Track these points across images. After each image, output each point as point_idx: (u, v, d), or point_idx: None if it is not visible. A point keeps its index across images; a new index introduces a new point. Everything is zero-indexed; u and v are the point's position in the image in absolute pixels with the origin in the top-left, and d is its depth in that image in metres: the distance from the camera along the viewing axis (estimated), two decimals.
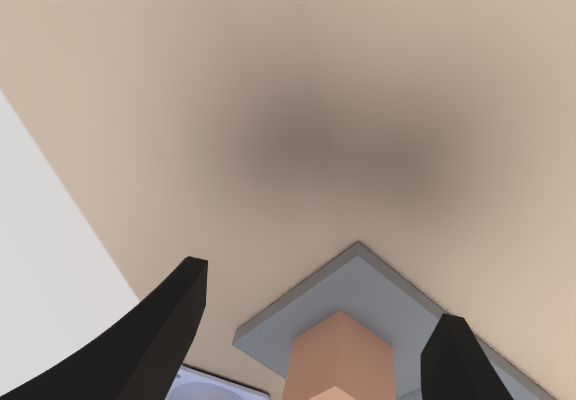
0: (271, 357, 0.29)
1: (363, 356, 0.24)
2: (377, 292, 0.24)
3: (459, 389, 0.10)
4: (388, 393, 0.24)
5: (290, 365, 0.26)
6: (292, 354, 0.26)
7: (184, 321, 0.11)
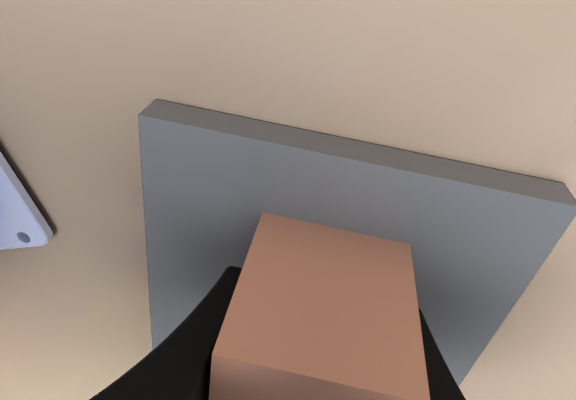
0: (177, 201, 0.13)
1: None
2: (494, 271, 0.13)
3: None
4: None
5: (255, 258, 0.11)
6: (262, 239, 0.12)
7: None
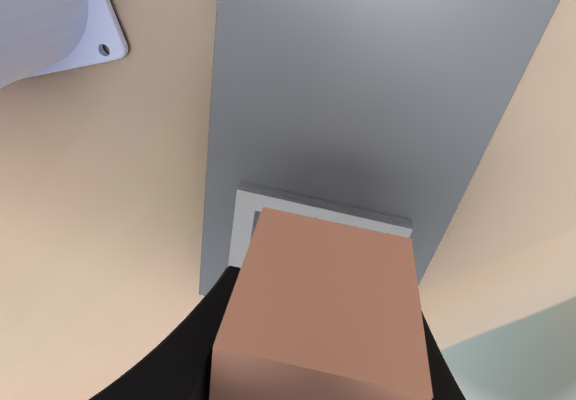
0: None
1: None
2: (504, 45, 0.16)
3: None
4: None
5: (256, 252, 0.11)
6: (262, 234, 0.12)
7: None
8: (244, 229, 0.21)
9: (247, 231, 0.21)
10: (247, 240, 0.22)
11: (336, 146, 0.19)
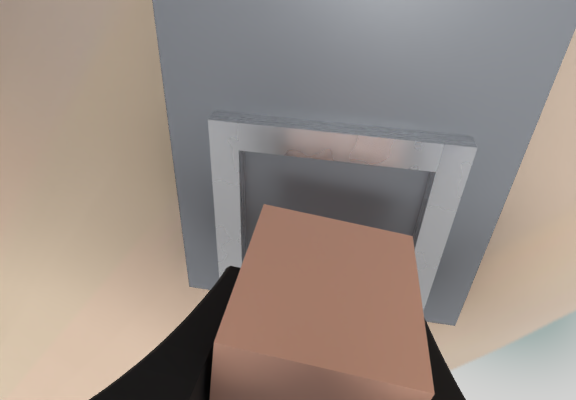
0: None
1: None
2: None
3: None
4: None
5: (257, 249, 0.11)
6: (263, 231, 0.12)
7: None
8: (229, 182, 0.15)
9: (233, 184, 0.15)
10: (236, 198, 0.15)
11: (345, 28, 0.12)
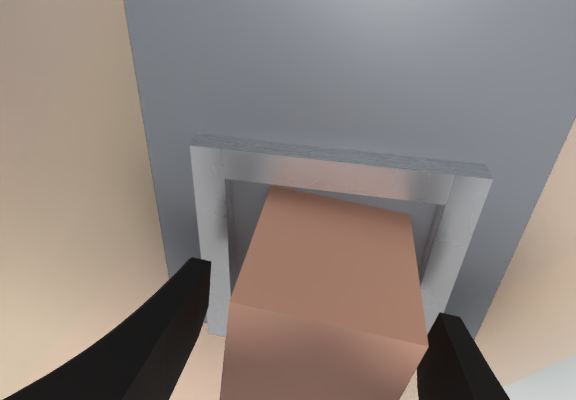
0: None
1: None
2: None
3: (455, 388, 0.10)
4: None
5: (266, 224, 0.12)
6: (271, 208, 0.12)
7: (188, 322, 0.11)
8: (215, 212, 0.13)
9: (220, 215, 0.14)
10: (222, 230, 0.14)
11: (344, 45, 0.11)
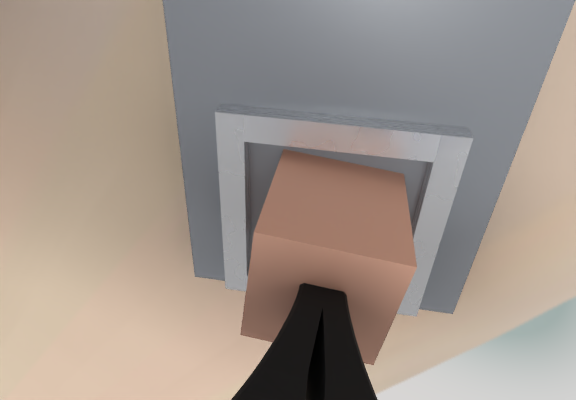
0: None
1: None
2: None
3: (319, 357, 0.10)
4: None
5: (280, 178, 0.14)
6: (284, 166, 0.15)
7: None
8: (235, 172, 0.16)
9: (239, 175, 0.16)
10: (241, 189, 0.16)
11: (347, 24, 0.13)
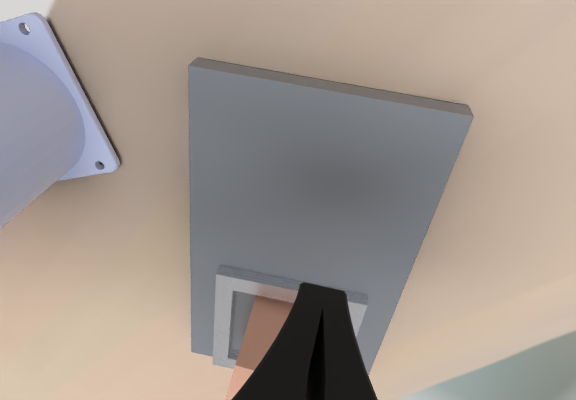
0: (212, 127, 0.19)
1: None
2: (425, 167, 0.19)
3: (319, 357, 0.10)
4: None
5: (253, 319, 0.23)
6: (256, 308, 0.24)
7: None
8: (225, 304, 0.25)
9: (227, 305, 0.25)
10: (228, 312, 0.25)
11: (297, 239, 0.22)
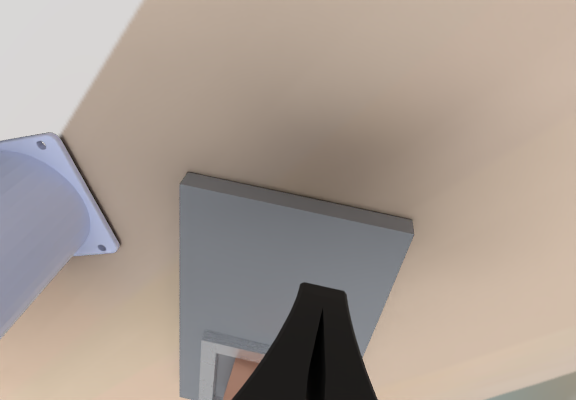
0: (199, 228, 0.23)
1: None
2: (377, 268, 0.22)
3: (319, 357, 0.10)
4: None
5: (233, 380, 0.27)
6: (236, 369, 0.27)
7: None
8: (209, 363, 0.28)
9: (211, 364, 0.28)
10: (212, 370, 0.29)
11: (272, 314, 0.26)
